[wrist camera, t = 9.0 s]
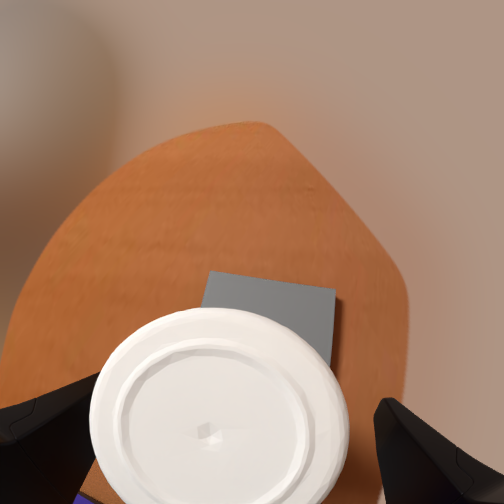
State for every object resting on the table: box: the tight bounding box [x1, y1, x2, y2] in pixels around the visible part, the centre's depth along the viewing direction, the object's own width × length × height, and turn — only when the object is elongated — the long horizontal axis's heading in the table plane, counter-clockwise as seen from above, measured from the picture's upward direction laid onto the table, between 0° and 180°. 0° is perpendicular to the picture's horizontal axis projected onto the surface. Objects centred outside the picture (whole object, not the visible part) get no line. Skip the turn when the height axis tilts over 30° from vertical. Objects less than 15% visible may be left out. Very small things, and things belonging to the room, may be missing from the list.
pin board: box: [201, 271, 336, 368], centre depth 15 cm, size 18×9×3 cm, turn 170°
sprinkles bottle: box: [89, 308, 350, 504], centre depth 9 cm, size 5×5×14 cm
